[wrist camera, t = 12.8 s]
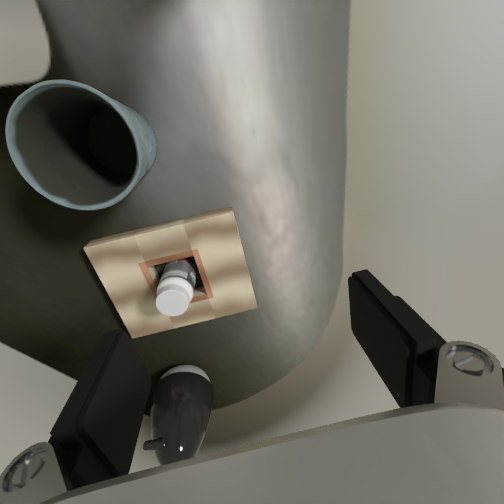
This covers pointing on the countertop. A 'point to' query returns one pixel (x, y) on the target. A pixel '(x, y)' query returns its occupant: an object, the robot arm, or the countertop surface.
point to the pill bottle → (176, 287)
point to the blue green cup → (78, 144)
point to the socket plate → (169, 249)
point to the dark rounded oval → (179, 413)
